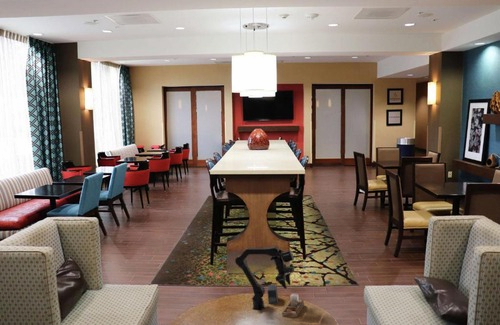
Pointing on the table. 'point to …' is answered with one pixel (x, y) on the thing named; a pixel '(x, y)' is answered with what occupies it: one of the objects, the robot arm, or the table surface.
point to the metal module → (294, 300)
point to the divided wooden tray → (292, 310)
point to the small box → (272, 294)
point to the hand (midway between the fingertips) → (287, 286)
